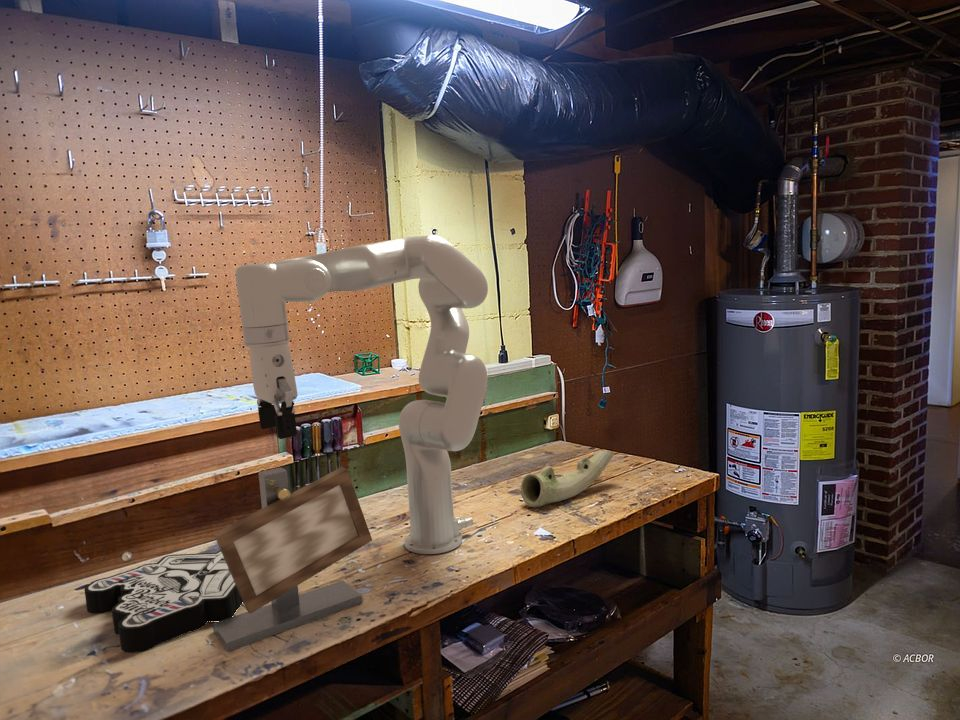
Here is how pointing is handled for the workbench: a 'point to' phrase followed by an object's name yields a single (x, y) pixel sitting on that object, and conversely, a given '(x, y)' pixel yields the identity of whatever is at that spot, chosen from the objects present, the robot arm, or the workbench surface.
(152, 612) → the decorative sign
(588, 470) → the pipe
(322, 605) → the tabletop sign stand
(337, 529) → the picture frame
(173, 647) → the workbench surface
